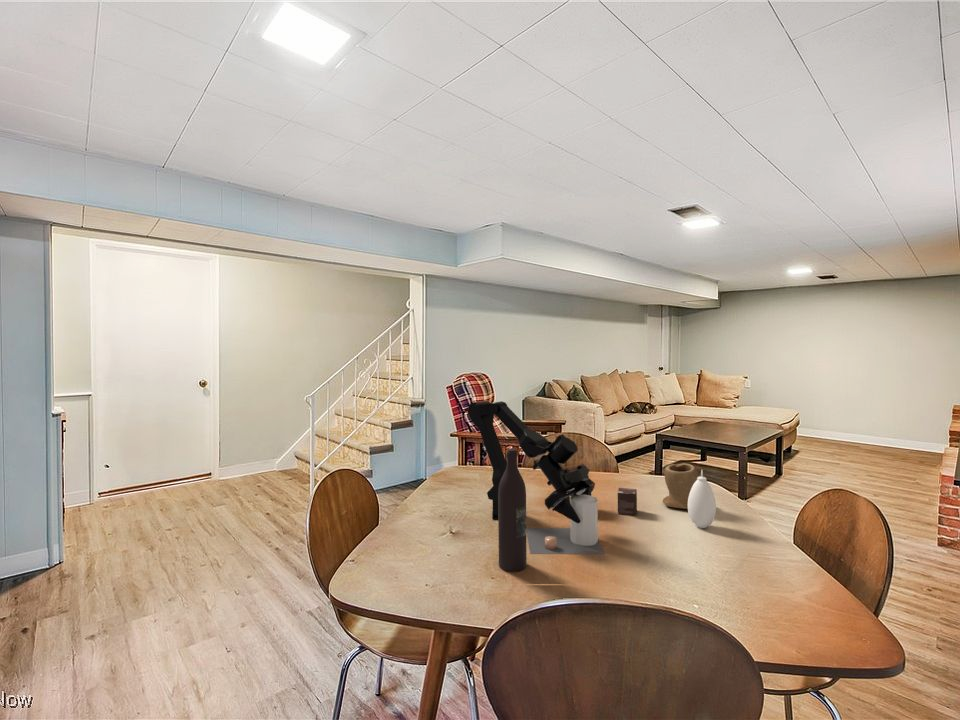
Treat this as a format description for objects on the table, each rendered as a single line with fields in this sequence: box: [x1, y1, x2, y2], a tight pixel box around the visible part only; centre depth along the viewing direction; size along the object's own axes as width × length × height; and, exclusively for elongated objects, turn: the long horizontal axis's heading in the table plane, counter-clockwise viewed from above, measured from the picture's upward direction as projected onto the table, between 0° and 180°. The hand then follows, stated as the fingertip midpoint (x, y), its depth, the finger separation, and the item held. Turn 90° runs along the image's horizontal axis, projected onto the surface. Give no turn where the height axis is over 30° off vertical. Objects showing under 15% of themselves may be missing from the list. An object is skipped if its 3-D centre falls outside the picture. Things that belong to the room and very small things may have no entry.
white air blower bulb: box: [687, 469, 717, 529], centre depth 147 cm, size 8×8×18 cm
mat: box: [526, 527, 606, 555], centre depth 138 cm, size 20×18×1 cm
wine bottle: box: [497, 448, 527, 573], centre depth 122 cm, size 7×7×30 cm
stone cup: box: [662, 462, 699, 510], centre depth 164 cm, size 15×12×15 cm
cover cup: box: [569, 495, 599, 546], centre depth 137 cm, size 7×7×12 cm
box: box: [617, 487, 638, 516], centre depth 161 cm, size 6×6×7 cm
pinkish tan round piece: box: [545, 536, 557, 550], centre depth 133 cm, size 3×3×2 cm
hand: (587, 518), depth 136 cm, fingers open, 9 cm apart
